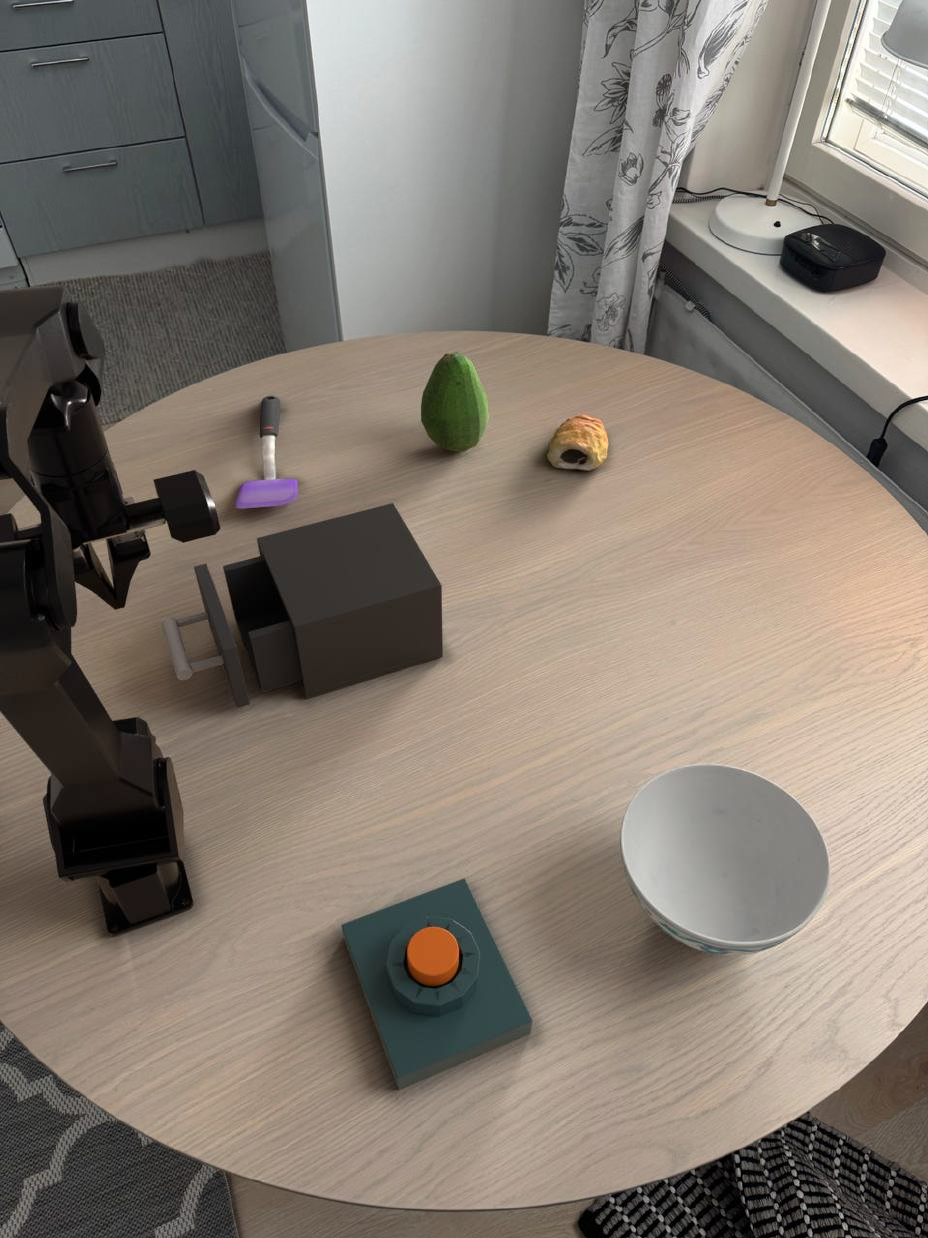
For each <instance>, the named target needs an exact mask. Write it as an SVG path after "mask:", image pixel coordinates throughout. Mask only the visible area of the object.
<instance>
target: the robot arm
mask: <svg viewBox="0 0 928 1238" xmlns="http://www.w3.org/2000/svg"><path fill="white" fill-rule="evenodd" d="M70 295H71V294H70V290H69V288H68V287H66V285H64V284H53V285H40V286H39V285H38V286H29V287H28V286H27V287H17V288H7V289H0V481H3V480H13V481H14V482H15V483H16V485H17V486H18V487H19V488H20V490H21V491H22V492H23V494H24V495H25V496H26V497H27V499H28V500H29V501H30V502H31V504H32V505H33V507H35V509H36V511H38V513H39V516H40V517H39V518H40V523H35V524H31V525H28V526H23V527H20V528H19V526H18V523H17V520H16V518H15V516H14V514H13V513H11V512H9V513H4V514H1V515H0V714H1V715H2V716H3V717H4V719H6V721H7V722H8V723H9V724H10V725H11V726H12V728H13V729H14V730H15V732H16V733H17V734H18V735H19V736H20V738H21V739H22V740H23V741H24V742H25V744H26V745H27V746H28V747H29V749H31V751H32V752H33V753H34V754H35V756H36V757H37V758H38V759H39V760H40V762H41V763H42V764H43V765H44V767H46V769H47V770H48V772H50V775H49V776H48V780H47V783H46V793H45V794H44V796H43V797H42V804H43V810H44V815H45V821H46V825H47V830H48V836H49V840H50V844H51V848H52V850H53V853H54V857H55V863H56V871H57V876H58V878H59V879H60V880H62V881H63V882H65V883H71V882H75V880H76V881H77V880H81V879H86V878H95V879H96V881H97V884H98V889H99V893H100V900H101V904H102V905H101V906H102V909H103V915H104V920H105V927H106V931H107V933H108V935H109V936H111V937H118V936H120V935H122V934H126V933H128V932H131V931H134V930H136V929H139V928H143V927H145V926H147V925H151V924H153V923H156V922H159V921H161V920H165V919H167V918H170V917H173V916H175V915H178V914H182V913H184V912H188V911H189V910H191V909H193V907H194V905H195V900H194V896H193V893H192V889H191V884H190V881H189V876H188V874H187V869H186V866H185V863H184V862H185V829H184V828H185V825H184V824H185V819H184V817H185V815H184V806H183V803H182V797H181V793H180V790H179V786H178V780H177V776H176V772H175V767H174V764H173V761H172V759H171V757H170V756H166V757H164V754H163V752H162V749H161V747H160V746H159V745H158V744H157V737H156V735H153V733H152V732H151V729H150V726H149V724H148V722H147V720H145V719H143V718H141V717H140V716H135V717H128V718H127V717H126V718H121V719H114V720H113V719H112V717H111V716H110V714H109V713H108V711H107V710H106V708H105V706H104V704H103V703H102V701H101V699H100V698H99V696H98V694H97V693H96V691H95V690H94V688H93V686H92V684H91V683H90V681H89V680H88V678H87V676H86V675H85V673H84V672H83V670H82V668H81V667H80V665H79V664H78V662H77V660H76V658H75V657H74V655H73V654H72V628H74V627H75V626H76V624H77V621H78V620H77V619H78V598H77V588H76V584H78V585H80V586H82V587H83V588H85V589H87V590H88V591H90V592H92V593H93V594H94V595H95V596H97V597H98V598H99V599H101V600H102V601H103V602H104V603H106V604H107V605H109V607H111V608H112V609H113V610H115V611H118V610H120V609H124V608H126V603H127V600H128V599H127V598H128V594H129V590H130V586H131V581H132V579H133V577H134V574H135V572H136V570H137V568H138V566H139V564H140V562H142V561H145V560H148V559H149V558H150V557H151V555H152V553H151V549H150V546H149V542H148V540H147V537H146V533H147V531H146V530H149V529H152V528H158V527H161V526H164V525H166V524H167V528H168V531H169V535H170V537H171V539H173V540H176V541H178V542H181V543H183V544H184V543H189V542H192V541H196V540H200V539H203V538H208V537H212V536H216V534H218V533H219V531H220V530H221V529H222V528H221V523H220V520H219V515H218V511H217V508H216V505H215V501H214V499H213V496H212V494H211V491H210V489H209V486H208V483H207V480H206V478H205V475H204V474H202V473H201V472H199V471H197V470H195V469H192V470H188V471H184V472H179V473H176V474H172V475H171V474H170V475H166V476H162V477H158V478H154V479H152V480H153V485H154V488H155V489H154V490H155V492H156V495H157V497H155V498H150V499H146V500H143V501H138V502H135V499H134V497H133V496H127V497H124V496H123V494H124V493H123V489H122V485H121V482H120V479H119V476H118V473H117V469H116V466H115V463H114V462H113V459H112V456H111V453H110V450H109V446H108V443H107V440H106V436H105V433H104V430H103V429H104V428H103V426H102V423H101V420H100V417H99V412H98V409H97V407H98V406H99V405H100V402H101V399H102V390H103V381H104V371H105V370H104V369H105V360H106V359H105V357H106V347H105V343H104V339H103V337H102V336H101V334H100V332H99V331H98V330H99V329H98V328H97V327H96V325H95V323H94V321H93V320H92V318H91V315H90V314H89V312H88V311H87V309H86V306H85V305H84V304H83V301H81V300H75V301H73V300H72V301H69V300H70V298H71V296H70ZM104 540H105V542H106V543H105V544H106V548H107V554H108V561H109V562H108V563H109V568H110V574H111V579H112V581H111V579H110V577H109V576H108V574H107V572H106V570H105V568H104V565H103V563H102V562H101V560H100V558H99V556H98V555H97V552H96V551H95V548H94V547H93V543H95V542H100V541H104ZM187 902H189V903H187ZM186 903H187V904H186ZM114 928H116V929H115V930H113V929H114Z"/></svg>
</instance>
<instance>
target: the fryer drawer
mask: <svg viewBox="0 0 928 1238" xmlns="http://www.w3.org/2000/svg"><path fill="white" fill-rule="evenodd" d="M193 569H194V574H195V577H196V581H197V584H198V588H199V592H200V597H201V600H202V605H203V608H204V611H203V612H198V613H195V614H192V615H188V616H183V617H180V618H176V617H173V616H167V617H165V618H163V620H161V623H160V624H161V628H162V631H163V635H164V638H165V641H166V645H167V649H168V652H169V654H170V655H169V656H170V659H171V661H172V665H173V669H174V672H175V675H176V678H177V679H178V680H181V681H186V680H188V679H189V680H190V678H192V676H193V673H197V672H201V671H204V670H208V669H211V668H215V667H217V666H218V667H219V666H222V668H223V672H224V675H225V677H226V680H227V683H228V687H229V689H230V693H231V694H232V695H231V696H232V698H233V700H234V703H235V707H236V709H240V708H244V707H247V706H250V705H251V702H250V698H249V694H248V690H247V685H246V680H245V677H244V673H243V667H242V663H241V659H240V655H239V651H238V647H237V644H236V640H235V637H234V635H233V633H232V629H231V627H230V624H229V622H228V619H227V615H226V613H225V611H224V608H223V605H222V602H221V599H220V596H219V593H218V590H217V588H216V585H215V583H214V580H213V577H212V574H211V572H210V568H209V566H208V564H207V562H205V563H203V564H198V565H195V566H193ZM222 569H223V573H224V578H225V582H226V586H227V590H228V595H229V596H228V597H229V599H230V604H231V608H232V612H233V617H234V621H235V624H236V627H237V629H238V633H239V635H240V637H241V640H242V643H243V646H244V648H245V651H246V654H247V658H248V660H249V662H250V664H251V667H252V670H253V673H254V676H255V679H256V681H257V684H258V687H259V689H260V692H261V693H262V694H263V693H266V692H269V691H272V690H276V689H279V688H283V687H286V686H289V685H292V684H295V683H300V682H299V681H302V678H301V672H300V666H299V660H298V654H297V648H296V643H295V637H294V631H293V627H292V624H291V622H290V619H289V617H288V615H287V612H286V610H285V608H284V605H283V603H282V600H281V598H280V596H279V593H278V591H277V589H276V586H275V584H274V582H273V579H272V577H271V574H270V572H269V570H268V567H267V565H266V563H265V560H264V558H263V555H262V556H260V555H259V556H255V557H252V558H247V559H244V560H240V561H236V562H233V563H229V564H225V565H222ZM205 621H207V624H208V628H209V630H210V633H211V636H212V639H213V642H214V644H215V645H214V646H215V648H216V650H217V654H218V655H217V656H214V657H213V656H212V657H210V658H206V659H203V660H200V661H197V662H193V663H191V662H190V658H189V656H188V655H189V654H188V653H187V649H186V646H185V642H184V638H183V635H182V633H181V630H180V628H183V627H186V626H187V627H188V626H191V625H194V624H197V623H201V622H205Z"/></svg>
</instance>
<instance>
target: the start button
mask: <svg viewBox="0 0 928 1238" xmlns="http://www.w3.org/2000/svg"><path fill="white" fill-rule="evenodd" d="M407 960H408V968H409V971H410V973H411V975H412V976H413V978H414V979H415V980H417V981H418V982H419V983H421V984H424V985H427V986H439V985H442V984H444V983H446V982H448V981H449V980H450V979H452V977H453V976H454V975H455V973H456V971H457V969H458V965H459V948H458V944H457V941H456V939H455V938H454V936H453V935H452V934H451V933H449V932H448V931H447V930H445V929H442V928H438V927H428V928H424V929H422V930H420V931H418V932H417V933H416V934H415V935H414V936H413V937H412V938H411V940H410V941H409V944H408V947H407Z"/></svg>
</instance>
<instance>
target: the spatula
mask: <svg viewBox="0 0 928 1238" xmlns="http://www.w3.org/2000/svg"><path fill="white" fill-rule="evenodd" d="M280 417H281V400H280V398H279V397H278V396H276V395H267V396H264V397H263V398H262V400H261V402H260V407H259V430H258V431H259V433H258V434H259V438H260V439H261V456H262V474H263V479H260V480H250V481H245V482H244V483H242V484H241V485H240V487H239V490H238V492H237V496H236V500H235V503H234V507H235V508H237V509H238V510H244V509H253V508H255V509H256V508H268V507H269V508H273V507H278V506H279V507H280V506H284V505H287V504H289V503H290V504H291V503H292V502H294V501H296V500H297V499H298V498H299V494H298V493H299V483H298V481H297V479H295V478H277V475H276V474H277V472H276V438H277V437H278V436H279V429H280V428H279V427H280V419H281V418H280Z"/></svg>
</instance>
